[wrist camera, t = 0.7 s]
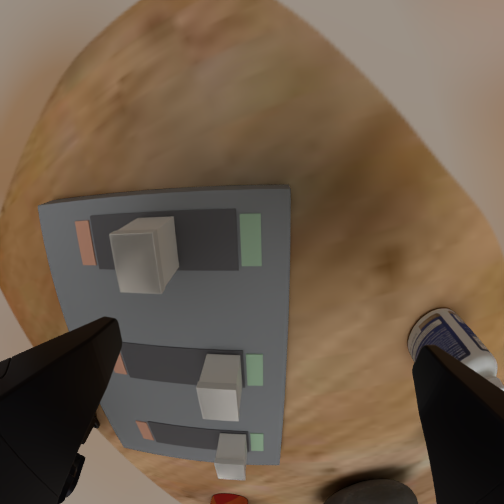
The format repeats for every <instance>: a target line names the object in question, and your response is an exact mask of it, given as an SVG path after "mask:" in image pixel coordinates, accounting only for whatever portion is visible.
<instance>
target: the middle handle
mask: <svg viewBox="0 0 504 504" xmlns="http://www.w3.org/2000/svg"><path fill="white" fill-rule="evenodd" d="M196 389H197V394H198V399H199V403H200V408H201V412H202V417H203V419H209V420H222V421H239V416H240V415H239V409H240V401H241V392H242V375H241V360H240V355H220V354H207V355H206V359H205V362H204V366H203V369H202V373H201V376H200V380H199V381H198V383H197V386H196Z"/></svg>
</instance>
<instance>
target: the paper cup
mask: <svg viewBox="0 0 504 504" xmlns="http://www.w3.org/2000/svg"><path fill="white" fill-rule="evenodd" d="M210 504H248V500H247V499H246V498H244V497H242V496H239V495H235V494H225V493H223V494H216V495H213V497H212V499H211V503H210Z"/></svg>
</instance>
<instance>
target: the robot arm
mask: <svg viewBox="0 0 504 504" xmlns="http://www.w3.org/2000/svg"><path fill="white" fill-rule="evenodd" d="M121 348H122V337H121V332H120V327H119V323H118V320H117V319H116V318H112V317H107V316H104V317H101V318H99V319H97V320H95V321H92V322H90V323H88V324H85V325H83V326H81V327H79V328H76V329H74V330H72V331H70V332H67V333H65V334H63V335H60V336H58V337H56V338H54V339H51V340H49V341H47V342H45V343H42V344H40V345H38V346H35V347H33V348H31V349H29V350H26V351H24V352H22V353H19V354H17V355H15V356H13V357H12V358H8V359H6V360H3V361H1V362H0V504H60V503H62V502H63V501H64V500H65V497H68V496H69V495H70V494H71V493H72V492H73V490H74V488H75V487H76V485H77V482H78V479H79V476H80V473H81V470H82V467H83V464H84V461H85V457H84V456H82V455H80V454H79V453H77V452H78V449H79V447H80V445H81V444H84V443H85V442H86V440H87V438H88V436H89V434H90V432H91V430H92V428H93V427H94V428H99V426H100V424H99V423H98V421H97V419H96V417H95V416H94V414H95V412H96V410H97V408H98V406H99V404H100V402H101V399H102V397H103V395H104V393H105V391H106V389H107V386H108V384H109V381H110V378H111V376H112V373H113V370H114V367H115V365H116V362H117V359H118V356H119V354H120V351H121ZM412 374H413V379H414V385H415V391H416V397H417V404H418V410H419V416H420V420H421V424H422V428H423V433H424V437H425V441H426V446H427V451H428V455H429V460H430V466H431V471H432V476H433V482H434V488H435V495H436V502H437V504H504V391H503V390H502V389H500V388H499V387H497V386H496V385H494V384H493V383H491V382H490V381H488V380H487V379H486V378H484V377H483V376H481V375H480V374H478V373H477V372H475V371H474V370H472V369H471V368H469V367H468V366H466V365H465V364H463V363H462V362H460V361H459V360H457V359H456V358H454V357H453V356H451V355H450V354H448V353H447V352H445V351H444V350H442V349H441V348H439V347H438V346H436V345H424V346H423V347H422V348H421V349H420V352H419V354H418V356H417V358H416V361H415V363H414V365H413V369H412Z"/></svg>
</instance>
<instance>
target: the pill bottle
mask: <svg viewBox="0 0 504 504" xmlns="http://www.w3.org/2000/svg"><path fill="white" fill-rule="evenodd" d="M424 345H436V346H438V347H439V348H441V349H442V350H444V351H445V352H447V353H448V354H450V355H451V356H453V357H454V358H456V359H457V360H459V361H460V362H462V363H463V364H465V365H466V366H468V367H469V368H471V369H472V370H474V371H475V372H477V373H478V374H480V375H481V376H483V377H484V378H486V379H487V380H488V381H490V382H491V383H493V384H494V385H496V386H497V387H499V388H500V389H502V390H503V391H504V386H503V384H502V383H501V381H500V379H499V378H497V377H496V374H497V362H496V360H495V358H494V357H493V355H492V354H491V353H490V352H489V350H488V349H487V348H486V347H485V346H484V344H483V343H482V342H481V341H480V340H479V338H478V337H477V336H476V335H475V334H474V333H473V331H472V330H471V329H470V328H469V327H468V326H467V325H466V324H465V323H464V322H463V320H462V319H461V318H460V317H459V316H458V315H457V314H456V313H455V312H454V311H452V310H450V309H447V308H442V309H436V310H434V311H431V312H429V313H428V314H426V315H425V316H423V317H422V318H421V319H420V320H419V321H418V322H417V324H416V325H415V326H414V327H413V329H412V331H411V333H410V336H409V339H408V350H409V353H410V355H411V357H412V359H413V360H414V362H415V361H416V358H417V356H418V354H419V352H420V349H421V348H422V347H423V346H424Z"/></svg>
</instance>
